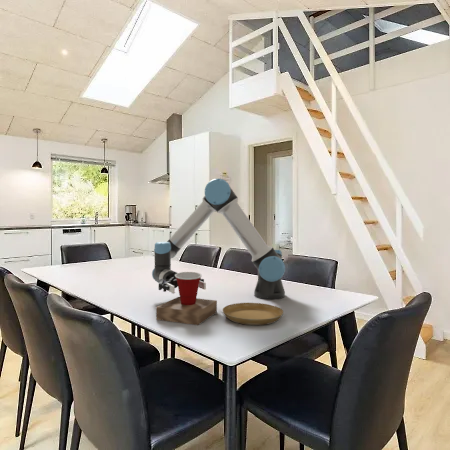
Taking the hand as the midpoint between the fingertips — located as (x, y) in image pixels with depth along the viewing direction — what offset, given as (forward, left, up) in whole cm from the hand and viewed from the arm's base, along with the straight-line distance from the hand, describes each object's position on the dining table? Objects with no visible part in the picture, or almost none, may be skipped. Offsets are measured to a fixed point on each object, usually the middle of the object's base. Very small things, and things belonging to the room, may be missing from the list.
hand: (189, 287), depth 145 cm
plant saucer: (-23, -9, -12) cm, 28 cm away
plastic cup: (+1, -2, -7) cm, 7 cm away
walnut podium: (+2, -1, -12) cm, 12 cm away
